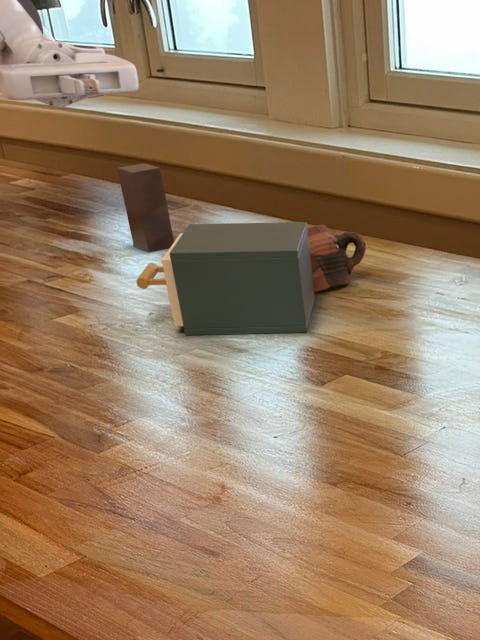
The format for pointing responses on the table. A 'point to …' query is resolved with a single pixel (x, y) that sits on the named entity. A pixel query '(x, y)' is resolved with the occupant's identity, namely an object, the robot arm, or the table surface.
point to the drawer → (163, 282)
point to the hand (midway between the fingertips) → (90, 88)
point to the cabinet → (244, 278)
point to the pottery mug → (332, 256)
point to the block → (146, 207)
